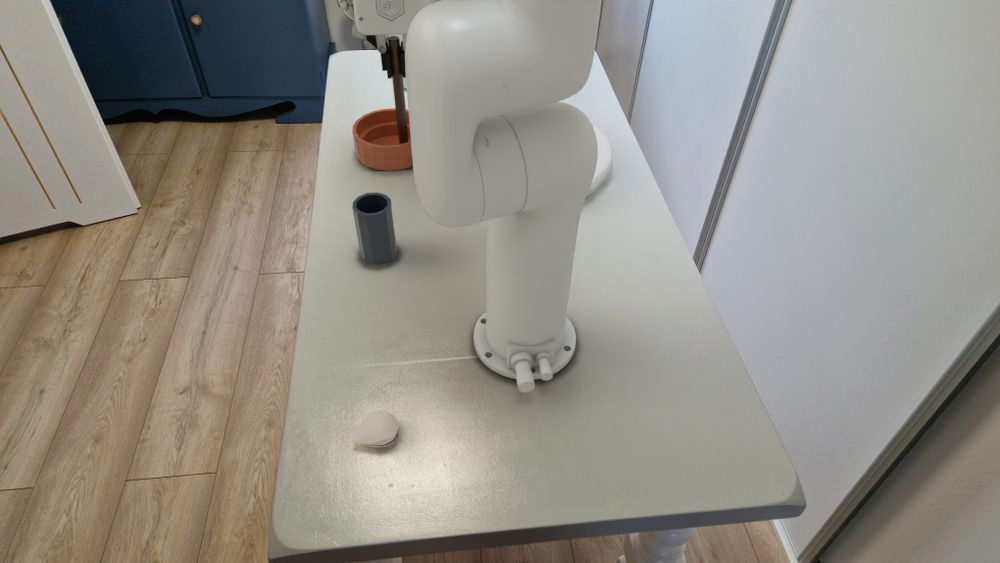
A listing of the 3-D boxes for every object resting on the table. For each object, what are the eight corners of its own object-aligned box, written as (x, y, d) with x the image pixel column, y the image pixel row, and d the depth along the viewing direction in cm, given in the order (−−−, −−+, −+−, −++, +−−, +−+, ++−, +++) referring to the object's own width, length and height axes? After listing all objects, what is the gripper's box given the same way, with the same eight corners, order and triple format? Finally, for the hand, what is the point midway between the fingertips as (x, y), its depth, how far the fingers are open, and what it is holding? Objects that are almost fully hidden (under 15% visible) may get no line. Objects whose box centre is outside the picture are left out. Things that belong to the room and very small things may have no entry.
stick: (409, 146, 108) (399, 40, 96) (399, 147, 108) (388, 40, 96) (408, 141, 109) (399, 35, 97) (399, 142, 109) (388, 36, 97)
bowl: (430, 171, 108) (429, 145, 104) (355, 175, 106) (350, 149, 103) (427, 132, 116) (426, 106, 113) (357, 135, 115) (354, 110, 112)
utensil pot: (397, 265, 91) (391, 214, 85) (360, 268, 90) (351, 216, 84) (397, 242, 95) (391, 191, 88) (362, 244, 94) (353, 193, 88)
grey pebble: (405, 442, 71) (403, 429, 69) (361, 463, 69) (358, 450, 67) (389, 413, 73) (387, 400, 72) (347, 432, 71) (343, 419, 70)
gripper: (322, -45, 84) (344, 88, 97) (445, -48, 86) (450, 83, 98) (326, -64, 89) (346, 65, 102) (441, -66, 91) (447, 61, 104)
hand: (397, 73), depth 100 cm, fingers closed on stick, 1 cm apart
